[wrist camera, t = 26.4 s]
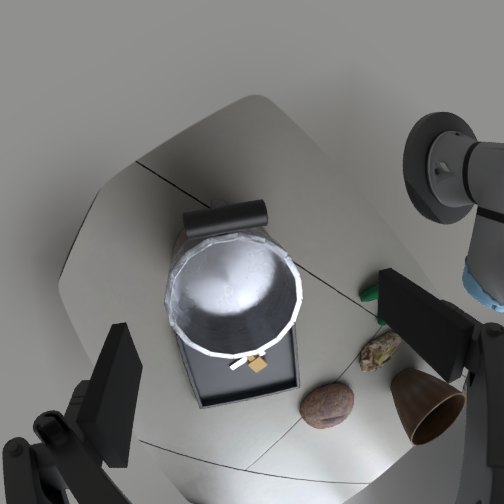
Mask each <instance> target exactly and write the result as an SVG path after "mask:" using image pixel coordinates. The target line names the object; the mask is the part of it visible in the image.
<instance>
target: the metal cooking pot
mask: <svg viewBox="0 0 504 504" xmlns="http://www.w3.org/2000/svg"><path fill="white" fill-rule="evenodd" d="M211 206H212V208H209V209H204V210H198V211H193V212H188V213H183V222H184V228H185V233H186V237H187V240H186V241H185V242H184V243H183V244H182V245H181V247H180V248H179V249H178V251H177V253H176V254H175V256H174V258H173V259H172V262H171V265H170V270H169V275H168V281H167V287H166V293H165V299H164V304H165V308H166V311H167V315H168V318H169V322H170V325H171V327H172V328H173V329H174V331H175V332H176V333H177V334H178V335H179V336H180V338H181V339H182V340H183V341H184V342H185V343H186V344H187V345H188V346H190V347H192V348H194V349H196V350H198V351H200V352H202V353H204V354H206V355H208V356H212V357H220V358H228V359H233V358H234V359H237V358H241V357H246V356H251V355H255V354H259V353H261V352H262V351H264V350H266V349H267V348H269V347H271V346H272V345H274V344H276V343H277V342H279V341H280V340H281V339H282V338H283V336H284V335H285V334H286V333H287V332H288V330H289V329H290V328H291V327H292V326H293V324H294V323H295V321H296V318H297V315H298V312H299V309H300V306H301V303H302V299H303V296H302V284H301V276H300V273H299V271H298V270H297V268H296V266H295V264H294V263H293V261H292V259H291V257H290V256H289V254H288V253H287V252H286V251H285V250H284V249H283V248H282V247H281V246H280V245H279V244H278V242H277V241H275V240H274V239H273V238H271V237H270V236H269V235H267V234H266V233H265V232H263V231H261V230H260V229H259V228H257V227H261V226H266V225H267V223H268V216H267V210H266V206H265V203H264V201H263V200H262V199H261V200H255V201H249V202H243V203H237V204H231V205H228V204H227V203H226V202H225V200H224V199H223V198H221V199H215V200H211Z"/></svg>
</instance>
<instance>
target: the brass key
mask: <svg viewBox="0 0 504 504" xmlns="http://www.w3.org/2000/svg"><path fill="white" fill-rule="evenodd" d="M246 358H247V359H248V360H249V362H248V363H247V365H248V366H249V367H250V368H251V369H253V370H254V371H255V372H256V373H257V372H258V371H260V370H261V369H263V368H264V367H266V366H267V365H268V364H267V362H266V361H265V360H264V359H263V358H262V357H261V356H260V355H258V356H256V357H255V356H254V355H251V356H246Z"/></svg>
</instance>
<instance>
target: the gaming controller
mask: <svg viewBox="0 0 504 504" xmlns="http://www.w3.org/2000/svg"><path fill="white" fill-rule="evenodd" d="M378 292H379V284H378V285H375V286H373V287H371V288H369V289H367V290H366V291H365V292H363V293H362V294H361V295H359V296H360V299H361V301H363V302H364V301H371V300H375V299H378ZM378 324H380V325H385V324H386V323H385V322H384V321H383V320H382V319H381V318H380V317H379V318H378Z"/></svg>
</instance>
